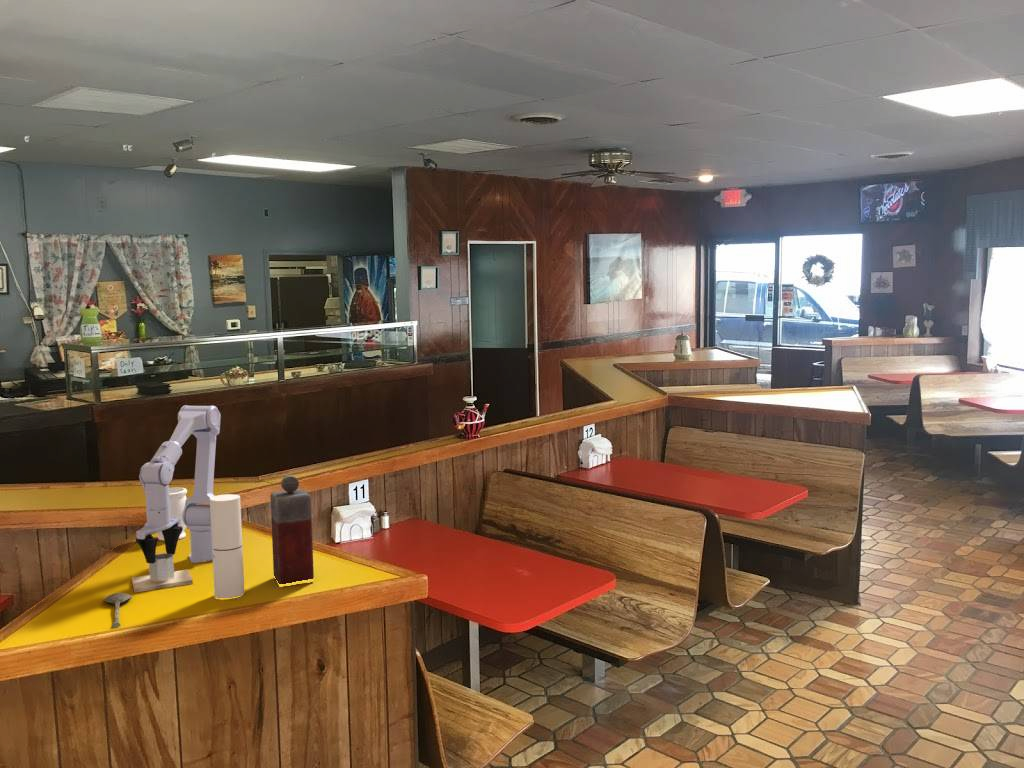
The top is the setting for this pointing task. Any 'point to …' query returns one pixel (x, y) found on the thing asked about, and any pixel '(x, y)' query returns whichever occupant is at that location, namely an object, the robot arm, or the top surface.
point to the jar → (176, 508)
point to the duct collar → (162, 568)
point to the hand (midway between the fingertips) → (161, 558)
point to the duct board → (145, 584)
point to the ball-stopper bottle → (291, 533)
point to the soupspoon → (117, 604)
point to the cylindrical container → (227, 546)
